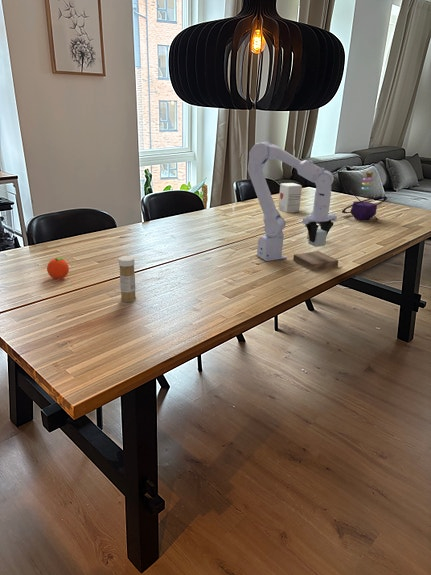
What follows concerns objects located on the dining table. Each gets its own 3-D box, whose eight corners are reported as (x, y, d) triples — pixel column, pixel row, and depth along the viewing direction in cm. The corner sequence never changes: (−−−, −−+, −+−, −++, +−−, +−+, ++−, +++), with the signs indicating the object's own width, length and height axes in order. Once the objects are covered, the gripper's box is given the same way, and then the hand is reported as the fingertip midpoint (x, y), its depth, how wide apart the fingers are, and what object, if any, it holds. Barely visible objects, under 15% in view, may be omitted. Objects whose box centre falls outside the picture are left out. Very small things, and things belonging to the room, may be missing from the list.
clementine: (64, 272, 155) (62, 253, 152) (76, 277, 151) (74, 257, 149) (44, 278, 149) (41, 258, 147) (55, 283, 145) (53, 263, 143)
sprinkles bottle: (130, 295, 139) (128, 254, 133) (139, 299, 136) (137, 258, 131) (117, 299, 136) (115, 257, 130) (126, 304, 133) (124, 261, 128)
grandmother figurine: (306, 239, 201) (309, 211, 196) (302, 237, 205) (305, 209, 200) (321, 238, 203) (325, 211, 198) (317, 236, 207) (320, 209, 202)
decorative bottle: (388, 225, 229) (397, 176, 220) (347, 224, 229) (354, 174, 220) (374, 215, 250) (382, 169, 240) (337, 214, 250) (343, 168, 240)
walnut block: (312, 272, 164) (313, 264, 163) (293, 262, 174) (293, 254, 173) (337, 267, 169) (338, 260, 168) (317, 258, 179) (318, 251, 178)
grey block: (315, 246, 166) (317, 232, 164) (308, 243, 170) (309, 229, 168) (325, 245, 168) (326, 231, 166) (317, 242, 172) (319, 228, 170)
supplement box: (277, 209, 256) (279, 183, 250) (290, 208, 260) (293, 182, 254) (286, 213, 249) (288, 186, 243) (299, 211, 252) (302, 185, 246)
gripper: (312, 208, 157) (308, 245, 162) (344, 205, 163) (339, 241, 168) (300, 204, 163) (296, 240, 168) (331, 202, 169) (327, 236, 174)
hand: (317, 240), depth 169 cm, fingers closed on grey block, 4 cm apart
